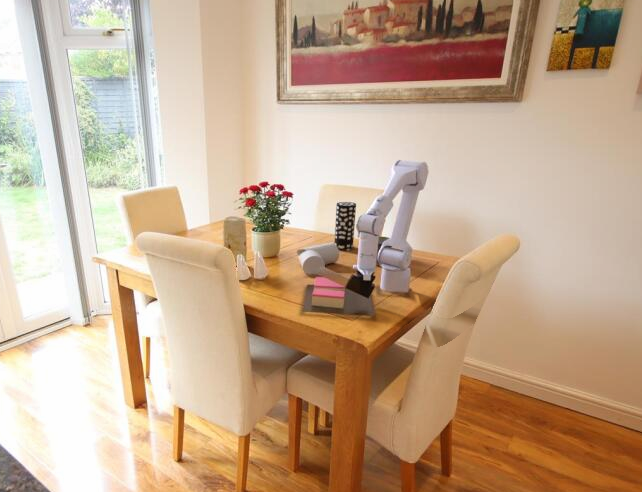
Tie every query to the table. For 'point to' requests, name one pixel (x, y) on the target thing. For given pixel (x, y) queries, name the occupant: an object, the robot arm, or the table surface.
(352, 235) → the spotted tube
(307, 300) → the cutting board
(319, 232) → the table surface
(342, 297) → the cake slice
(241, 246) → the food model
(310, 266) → the bent grey cylinder
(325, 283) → the cake
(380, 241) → the ceramic cup
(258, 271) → the shaker set
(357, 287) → the grey and black bar
